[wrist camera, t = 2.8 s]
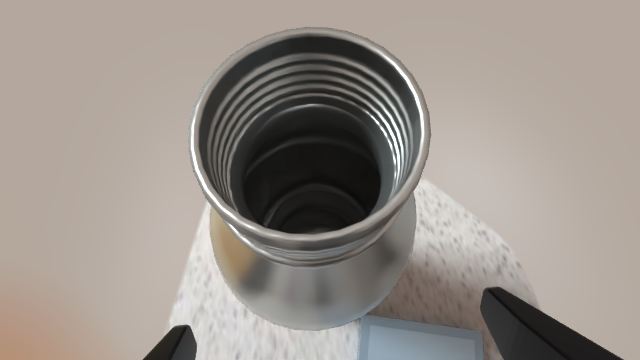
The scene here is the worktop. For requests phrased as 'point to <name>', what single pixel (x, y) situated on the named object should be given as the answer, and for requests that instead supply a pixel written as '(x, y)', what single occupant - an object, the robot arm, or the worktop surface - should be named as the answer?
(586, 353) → the robot arm
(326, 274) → the silver ridged hollow container
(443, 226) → the worktop surface
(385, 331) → the flat blue-gray rectangular plate
